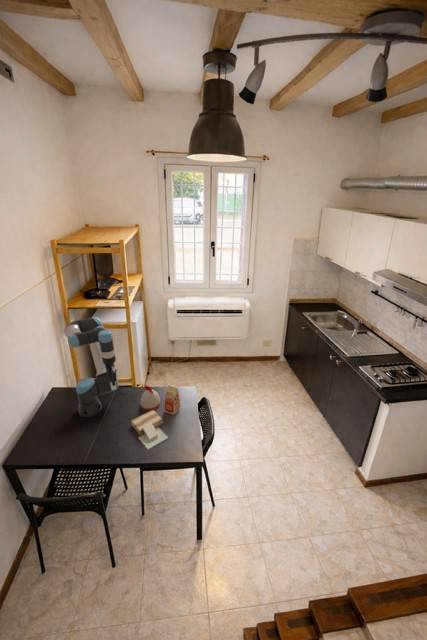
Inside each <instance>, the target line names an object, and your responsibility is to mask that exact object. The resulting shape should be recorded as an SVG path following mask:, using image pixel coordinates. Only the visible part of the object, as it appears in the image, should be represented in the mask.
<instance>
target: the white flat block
mask: <svg viewBox="0 0 427 640" xmlns="http://www.w3.org/2000/svg"><path fill="white" fill-rule="evenodd" d="M142 429H143V430H144V432H145V434H146V436H147V437H148V439H149V440H151V439H153V438H155V437H156V436H158V433H157V431H156V429H155V428H154V426H153V424H152V422H150V423H148V424H146V425H145V426H143V427H142Z"/></svg>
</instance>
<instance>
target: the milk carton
mask: <svg viewBox="0 0 427 640" xmlns="http://www.w3.org/2000/svg"><path fill="white" fill-rule="evenodd" d="M163 405H164V406H163V412H164V413H167V414H171V415H175V414H177V413H178V412H179V411H180V409H181V400H180V393H179V388H178V387H177V386H173V385H171V384H167V388H166V390H165V395H164V404H163Z"/></svg>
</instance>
